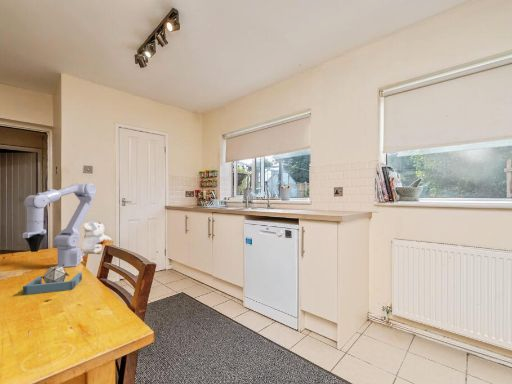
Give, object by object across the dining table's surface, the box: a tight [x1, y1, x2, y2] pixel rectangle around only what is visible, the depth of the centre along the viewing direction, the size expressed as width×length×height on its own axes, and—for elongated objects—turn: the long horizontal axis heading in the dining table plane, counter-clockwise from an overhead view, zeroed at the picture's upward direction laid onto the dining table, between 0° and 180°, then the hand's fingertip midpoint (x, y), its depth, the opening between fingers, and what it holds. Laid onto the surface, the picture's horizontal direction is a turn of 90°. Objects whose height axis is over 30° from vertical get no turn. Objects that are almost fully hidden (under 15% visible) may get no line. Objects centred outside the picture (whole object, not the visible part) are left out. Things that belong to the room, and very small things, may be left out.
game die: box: [39, 265, 70, 284], centre depth 99 cm, size 9×8×10 cm
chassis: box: [22, 272, 83, 296], centre depth 98 cm, size 15×12×3 cm
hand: (34, 251), depth 113 cm, fingers closed
